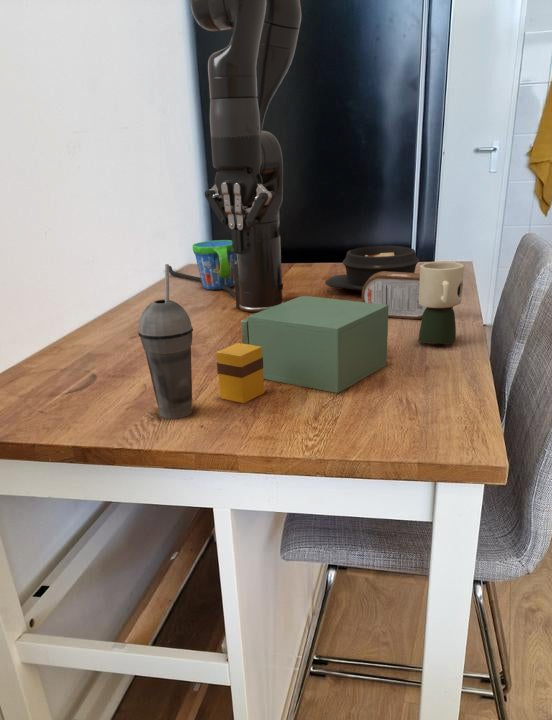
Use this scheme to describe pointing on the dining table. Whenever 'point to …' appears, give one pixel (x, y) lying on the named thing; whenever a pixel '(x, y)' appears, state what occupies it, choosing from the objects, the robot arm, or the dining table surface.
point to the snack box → (240, 372)
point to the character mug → (440, 300)
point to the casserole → (373, 265)
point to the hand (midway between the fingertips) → (242, 253)
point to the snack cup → (215, 263)
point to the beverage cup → (168, 353)
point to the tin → (395, 293)
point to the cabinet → (321, 341)
